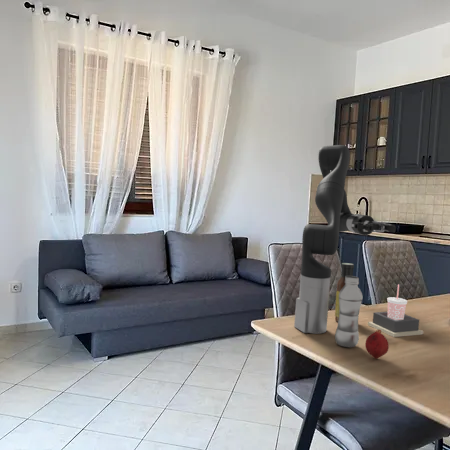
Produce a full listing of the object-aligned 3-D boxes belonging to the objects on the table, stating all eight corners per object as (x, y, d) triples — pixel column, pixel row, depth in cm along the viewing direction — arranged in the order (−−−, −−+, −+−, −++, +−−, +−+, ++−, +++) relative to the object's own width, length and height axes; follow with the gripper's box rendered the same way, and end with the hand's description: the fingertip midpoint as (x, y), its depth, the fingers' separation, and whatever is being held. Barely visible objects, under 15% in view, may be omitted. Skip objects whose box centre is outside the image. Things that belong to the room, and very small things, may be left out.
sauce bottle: (355, 325, 145) (360, 266, 144) (336, 323, 145) (341, 265, 144) (350, 319, 152) (355, 262, 150) (332, 317, 152) (336, 261, 150)
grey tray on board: (393, 337, 135) (394, 322, 135) (367, 324, 146) (368, 311, 146) (423, 334, 139) (424, 320, 139) (395, 322, 151) (397, 309, 150)
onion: (375, 364, 112) (378, 334, 112) (359, 356, 118) (362, 327, 117) (391, 361, 115) (394, 331, 114) (375, 353, 120) (377, 325, 120)
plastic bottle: (329, 342, 126) (335, 275, 125) (348, 340, 129) (353, 274, 127) (343, 351, 121) (349, 280, 119) (363, 348, 123) (369, 279, 122)
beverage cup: (383, 327, 141) (387, 284, 140) (385, 322, 147) (389, 281, 146) (404, 330, 139) (408, 287, 138) (405, 325, 144) (409, 284, 143)
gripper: (343, 213, 165) (365, 217, 149) (378, 215, 168) (403, 218, 152) (342, 233, 166) (364, 238, 150) (376, 234, 168) (401, 240, 153)
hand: (383, 228), depth 151 cm, fingers open, 8 cm apart
